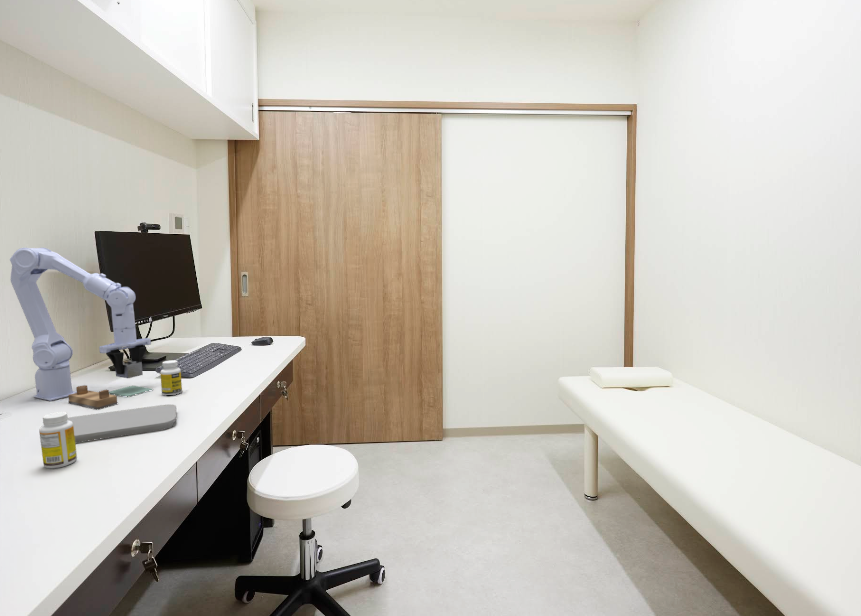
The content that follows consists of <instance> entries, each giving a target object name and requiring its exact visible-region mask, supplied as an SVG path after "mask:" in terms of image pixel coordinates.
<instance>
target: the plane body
mask: <svg viewBox="0 0 861 616" xmlns="http://www.w3.org/2000/svg"><path fill="white" fill-rule="evenodd" d="M75 389H76V392H77V393H74V394H70V395H68V404H71V405H75V406H79V407H83V406H84V407H83V408H88V407H89V408H88V409H92V408H94V409H93V410H97V409H98V410H101V409H100V408H102V409H104V407H105V408H108V406H109V407H112V406H111V405H113V406H115V405H114V404H116V405H118V404H119V402H118V398H117V396H118V395H113V394H109V391H110V390H109V389H103V390H99V391H94V390H89V389H88V385H85V384H84V385H78V386H76V388H75ZM117 403H118V404H117Z"/></svg>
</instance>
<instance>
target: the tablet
mask: <svg viewBox="0 0 861 616" xmlns="http://www.w3.org/2000/svg"><path fill="white" fill-rule="evenodd" d="M68 421H71V422H72V423H73V427H74V436H75V444H77V443H76V442H79V443H83V442H82V441H85V442H89V441H88V440H92V441H95V440H94V439H98V440H101V439H100V438H105V439H109V438H108V437H112V438H116V437H115V436H118V437H122V436H121V435H125V436H132V435H136V434H143V433H144V434H145V433H150V432H156V431H162V430H168V429H169V428H172V427H173V426H174V422H176V421H177V405H176V404H159V405H154V406H153V405H151V406H145V407H138V408H137V407H135V408H131V409H129V408H128V409H122V410H116V411H108V412H107V411H106V412H100V413H99V412H98V413H91V414H85V415H78V416H77V415H76V416H70V417H69V416H68Z"/></svg>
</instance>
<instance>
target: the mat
mask: <svg viewBox="0 0 861 616" xmlns="http://www.w3.org/2000/svg"><path fill="white" fill-rule="evenodd" d="M152 389H153V388H149V387H145V386H138V385H129V386H126V387H123V388H122V387H121V388H117V389H114V390H109V393H110V395H113V394H115V396H118V395H121V396H120V397H123V396H127V397H126V398H129V397H128V396H130V397H133V396H132V395H134V396H136V395H135V394H138V395H140V394H139V393H141V394H143V393H142V392H145V391H149V390H152ZM152 391H153V390H152ZM149 392H150V391H149ZM145 393H146V392H145Z"/></svg>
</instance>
